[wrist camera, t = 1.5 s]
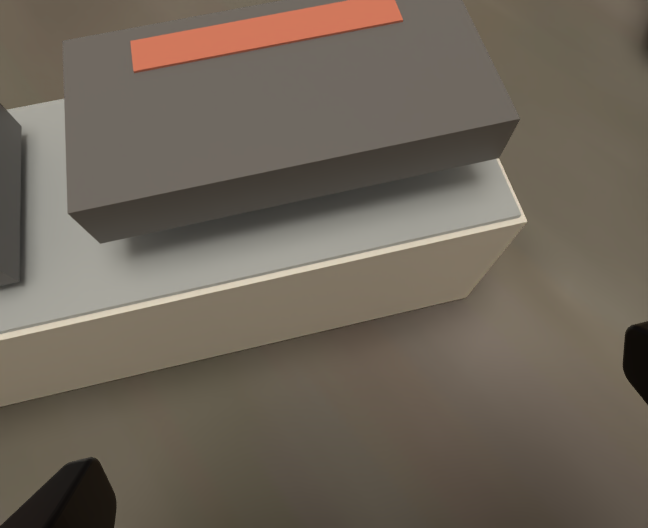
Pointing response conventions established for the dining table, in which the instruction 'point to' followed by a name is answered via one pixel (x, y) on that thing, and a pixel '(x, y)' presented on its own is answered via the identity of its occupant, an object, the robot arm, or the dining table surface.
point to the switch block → (230, 269)
